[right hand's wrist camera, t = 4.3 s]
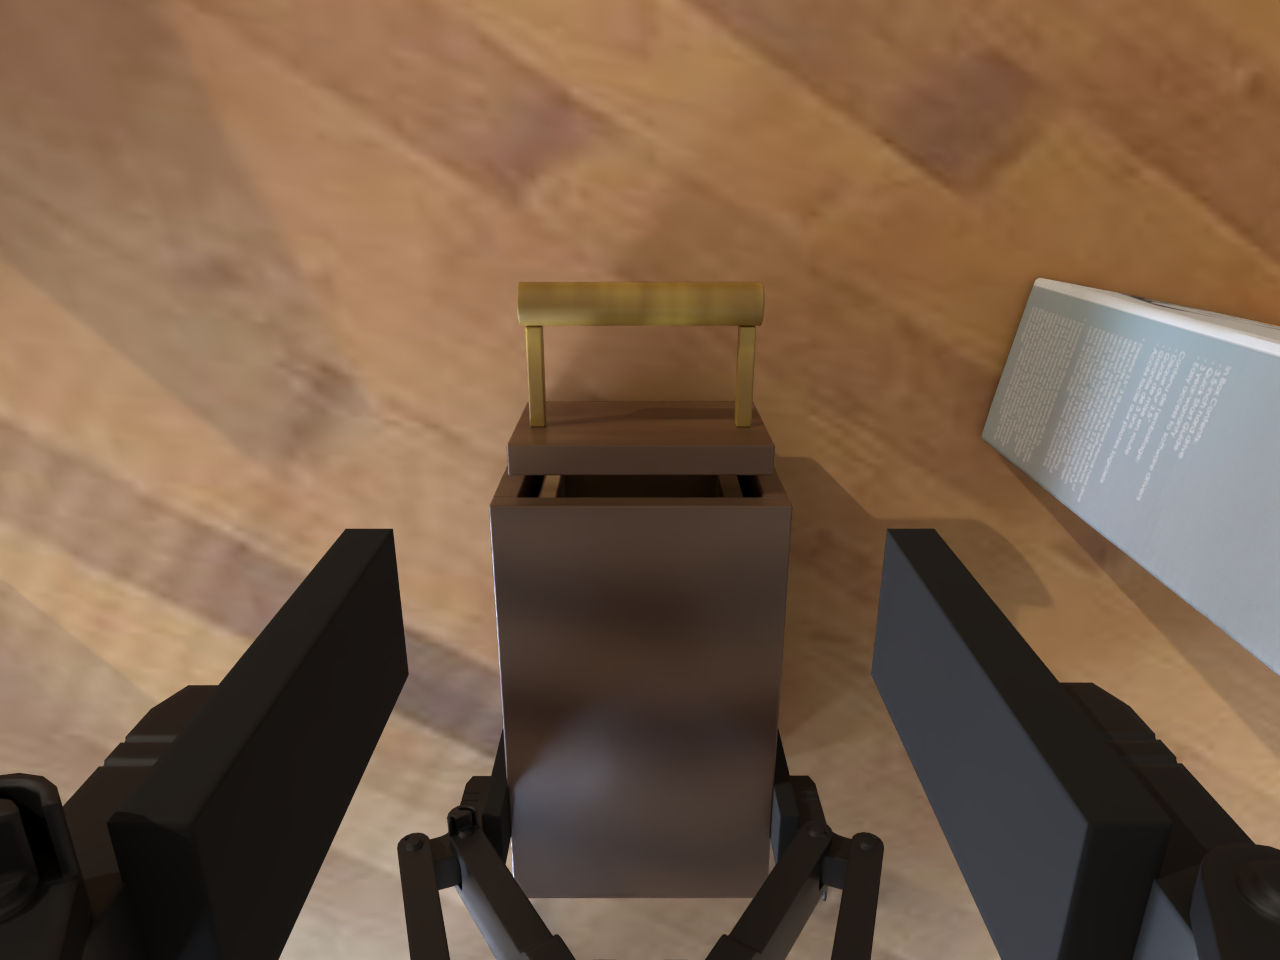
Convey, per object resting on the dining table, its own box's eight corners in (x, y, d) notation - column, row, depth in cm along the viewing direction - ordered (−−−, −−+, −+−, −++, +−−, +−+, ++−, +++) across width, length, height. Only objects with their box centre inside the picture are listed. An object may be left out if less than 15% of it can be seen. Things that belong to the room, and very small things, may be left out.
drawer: (521, 270, 35) (497, 291, 29) (759, 270, 35) (783, 291, 29) (542, 733, 43) (527, 823, 37) (737, 733, 43) (753, 823, 37)
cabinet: (518, 438, 38) (488, 506, 31) (762, 438, 38) (793, 506, 31) (535, 773, 45) (514, 898, 37) (744, 773, 45) (766, 898, 37)
